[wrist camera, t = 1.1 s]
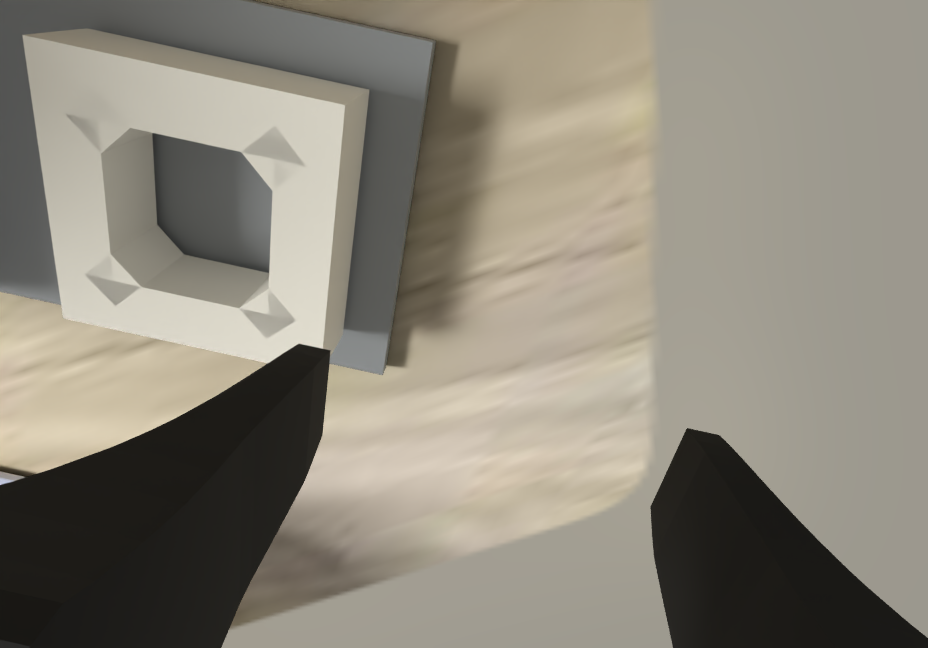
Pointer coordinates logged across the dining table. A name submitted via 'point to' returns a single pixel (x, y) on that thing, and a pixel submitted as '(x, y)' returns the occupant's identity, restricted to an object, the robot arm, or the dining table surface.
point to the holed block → (134, 200)
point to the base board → (227, 171)
